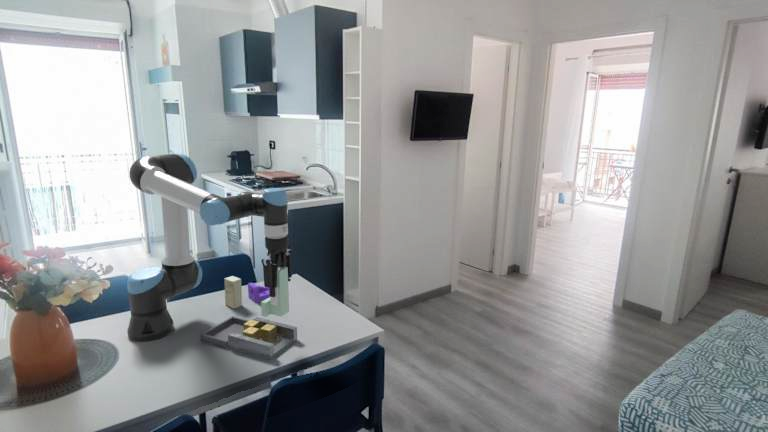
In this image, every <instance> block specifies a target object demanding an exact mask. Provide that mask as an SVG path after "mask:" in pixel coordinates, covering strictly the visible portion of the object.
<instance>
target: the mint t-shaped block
mask: <svg viewBox="0 0 768 432" xmlns="http://www.w3.org/2000/svg"><path fill="white" fill-rule="evenodd" d="M288 274H289V273H288V267H280V266H279V267H278V271H277V283H276V287H278V300H279V305H278V306H275V305H271V298H270V297H269V298H267V299H266V300H264V301H261V302H260V306H261V307H260V308H261V316H262V317H263V318H264V317H265V318H266V317H268V316H270V315H272V316H273V315H274V316H277V317H284V315H286V314H287V313H289V312H290V298H289V297H290V296H289V295H290V294H289V293H290V292H289V291H290V290H289V281H288Z"/></svg>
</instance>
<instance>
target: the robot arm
mask: <svg viewBox="0 0 768 432" xmlns="http://www.w3.org/2000/svg"><path fill="white" fill-rule="evenodd" d="M129 168H130V169H129V172H128V173H129V179H130V181H131V183H132V185H133V186H134V187H135V188H136V189H138V190H139V191H140V192H143V193H146V194H148V195H157V196H160V198H161V211H162V224H163V239H164V251H165V257H164V258H162V260H161V267H159V266H151V267H150V266H148V267H144V268H141V269H138V270H136V271H133V272H132V273H131V274H130V275H129V276H128V278H127V281H126V282H127V288H126V289H127V292H128V300H129V310H130V319H129V322H128V323H129V324H128V327H127V337H128V339H130V340H131V341H135V342H149V341H155V340H158V339H161V338H163V337H166V336H168V335H169V334H171V333H172V332H173V331H174V328H175V325H174V320H173V318H172V315H170V312H169V310H168V308H167V306H168V305H167V300H168V299H171V298H173V297H177V296H179V295H181V294H184V293H187V292H190V291H191V290H192V289H195V288H196V287H198V286H199V285H200V283H201V281H202V279H203V269H202V267H201V266H200V265H201V264H200V263H199V261H197V260H195V259H196V258H195V256H193V255H192V254H191V249H190V248H191V247H190V244H191V243H190V231H189V230H190V229H189V227H190V226H189V211H188V210H190V211H193V212H195V213H197V214H199V215H200V218H201V220H203V222H204V223H205V224H206V225H208V226H217V225H223V224H225V223H229V222H232V221H235V220H240V219H244V218H247V217H251V216H254V217H255V216H257V217H263V221H264V222H263V228H264V231H263V233H264V236H265V237H264V244H265V245H264V246H265V247H264V248H265V249H266V250H267V253H266V254H267V255H266V257H265V258H262V259H261V264H262V268H263V269H262V270H263V284H264V285H263V287H268V288H269V292H270V298H271V305H275V306H278V305H279V300H278V287H276V283H277V271H278V267H279V266H280V267H288V283H289V282H291V281H292V279H291V278H292V276H293V266H292V265H293V263H292V261H293V260H292V255H293V249H290V248H289V249H288V247H289V246H290V245H289V244H290V243H289V242H290V241H289V239H290V238H289V236H288V234H289V224H288V222H289V221H288V203H289V201H288V196H287V191H286V189H284V188H282V187H281V188H280V187H276V188H275V187H270V188H269V187H268V188H265V189H263V191H262V193H259V192H252V191H248V190H247V191H238V192H236V193H235V194H234V195H230V196H227V197H223V196H220V195H217V194H215V193H213V192H210V191H208V190H206V189H203V188H200V187H199V186H196V185H194V184H193V183H194V182H196V180H197V179H198V177H197V176H198V170H197V166H196V164H195V162H194V161H193V160H192V159H191V158H190V157H189V156H188V155H186V154H183V153H165V154H156V155H145V156H141V157H140V158H138V159H136V160H135V161H134V162H133V163H132V165H131V167H129Z"/></svg>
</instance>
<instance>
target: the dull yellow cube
mask: <svg viewBox="0 0 768 432" xmlns="http://www.w3.org/2000/svg"><path fill="white" fill-rule="evenodd" d="M249 327H254V328H258V329H260V322H259V321H255V320H254V319H250V320H249V321H248V322H246V323H245V324H244V330H246V329H247V328H249Z"/></svg>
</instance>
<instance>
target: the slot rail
mask: <svg viewBox="0 0 768 432" xmlns="http://www.w3.org/2000/svg"><path fill="white" fill-rule="evenodd" d="M253 320H255V321H259V322H260V328H262V327H263V326H265V325H266V324H271V325H275V326H277V336H276V337H275V338H274V339H272V340H271V341H267V340H264V339H261V333H260V340H258V339H254V338H250V337H247V336H243V335H240V334H236V333H230V334H229V335H228V344H229V347H228V349H231V350H235V351H238V352H242V353H245V354H249V355H252V356H255V357H258V358H263V359H266V360H269V361H272V360H273V359H274V358H276V357H277V356H278V355H279V354H280V353H283V351H284V350H286V349H288V348H289V347H290V346H292V344H294V343H296V342H297V340H298V326H293V325H290V324H285V323H281V322H279V321H274V320H270V319H266V318H261V317H258V316H256V317H255V318H254V319H253Z"/></svg>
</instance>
